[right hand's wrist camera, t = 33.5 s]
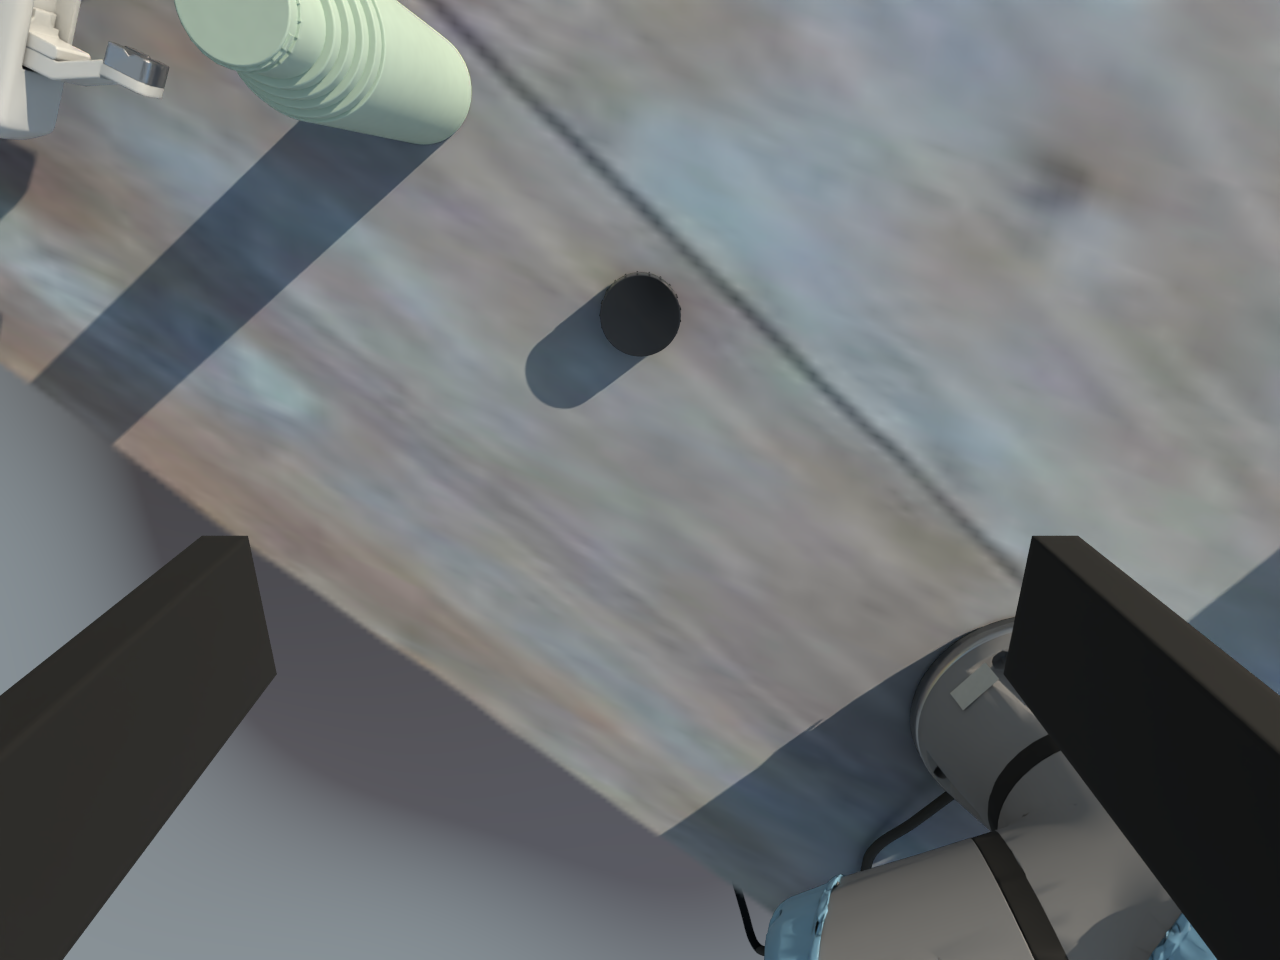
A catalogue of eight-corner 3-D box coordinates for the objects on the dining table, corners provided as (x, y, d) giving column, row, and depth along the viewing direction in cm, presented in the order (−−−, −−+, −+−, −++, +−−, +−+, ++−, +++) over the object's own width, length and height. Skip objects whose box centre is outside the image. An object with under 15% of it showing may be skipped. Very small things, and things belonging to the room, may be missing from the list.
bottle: (347, 99, 39) (101, 24, 21) (399, 2, 38) (180, -168, 20) (437, 166, 40) (275, 149, 22) (491, 74, 39) (364, -24, 21)
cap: (662, 362, 44) (663, 369, 43) (589, 334, 44) (587, 340, 42) (692, 288, 43) (694, 292, 41) (617, 258, 42) (616, 261, 41)
